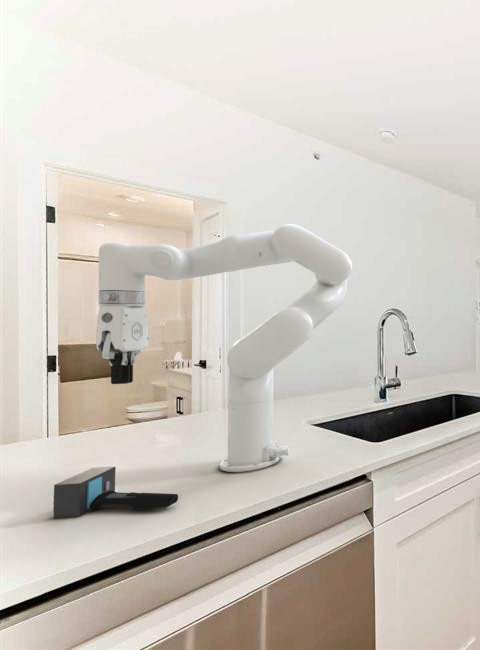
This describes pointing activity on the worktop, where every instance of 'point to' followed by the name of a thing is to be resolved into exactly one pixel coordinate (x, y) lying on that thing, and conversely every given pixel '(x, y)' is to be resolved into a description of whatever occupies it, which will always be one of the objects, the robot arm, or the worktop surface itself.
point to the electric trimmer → (133, 500)
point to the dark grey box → (82, 491)
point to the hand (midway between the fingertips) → (122, 383)
